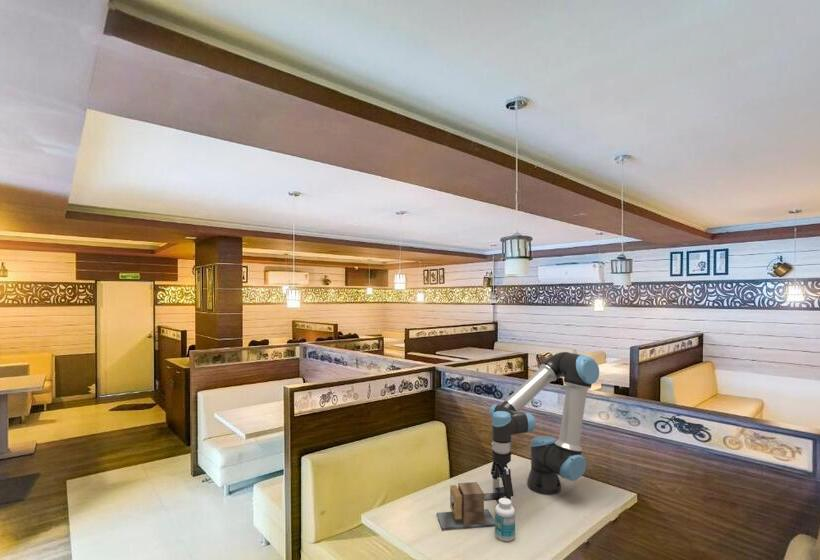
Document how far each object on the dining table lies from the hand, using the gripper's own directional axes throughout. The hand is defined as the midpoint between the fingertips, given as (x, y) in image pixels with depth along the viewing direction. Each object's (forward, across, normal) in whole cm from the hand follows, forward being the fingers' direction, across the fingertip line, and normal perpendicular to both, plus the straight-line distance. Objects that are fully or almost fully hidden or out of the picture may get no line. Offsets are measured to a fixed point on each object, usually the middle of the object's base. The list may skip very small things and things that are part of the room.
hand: (501, 502), depth 171 cm
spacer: (+3, 0, -19) cm, 20 cm away
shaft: (0, 0, -10) cm, 10 cm away
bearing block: (+6, 0, -15) cm, 16 cm away
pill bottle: (+7, +12, -3) cm, 14 cm away
